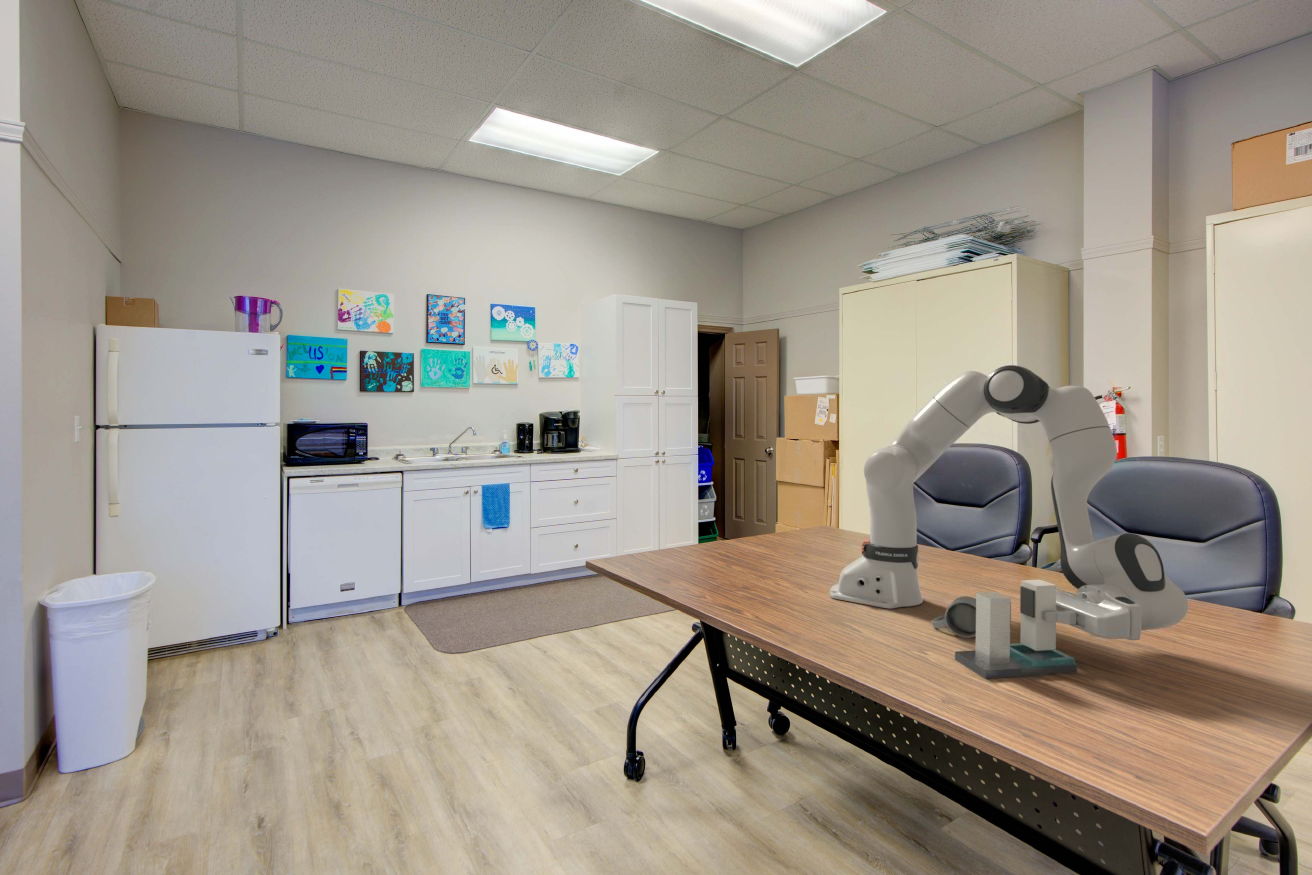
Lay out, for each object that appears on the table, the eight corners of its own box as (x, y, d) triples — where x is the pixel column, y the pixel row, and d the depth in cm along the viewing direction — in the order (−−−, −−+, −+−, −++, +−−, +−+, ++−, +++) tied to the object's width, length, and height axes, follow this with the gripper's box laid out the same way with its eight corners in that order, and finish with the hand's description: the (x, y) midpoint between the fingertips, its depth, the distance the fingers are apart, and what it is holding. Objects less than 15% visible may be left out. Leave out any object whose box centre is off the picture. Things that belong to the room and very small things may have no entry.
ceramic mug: (987, 629, 136) (987, 594, 136) (984, 640, 129) (984, 604, 129) (934, 622, 141) (934, 588, 141) (929, 632, 134) (929, 597, 134)
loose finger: (1034, 650, 114) (1034, 586, 114) (1018, 643, 118) (1019, 580, 118) (1055, 649, 115) (1056, 584, 114) (1039, 641, 119) (1040, 579, 118)
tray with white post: (985, 678, 110) (986, 603, 110) (954, 659, 119) (955, 589, 119) (1077, 672, 113) (1078, 599, 112) (1040, 653, 122) (1041, 585, 121)
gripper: (1057, 577, 128) (996, 580, 126) (1148, 607, 108) (1077, 611, 106) (1057, 608, 128) (995, 611, 126) (1148, 643, 108) (1076, 648, 106)
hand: (1033, 611), depth 116 cm, fingers closed on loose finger, 4 cm apart
